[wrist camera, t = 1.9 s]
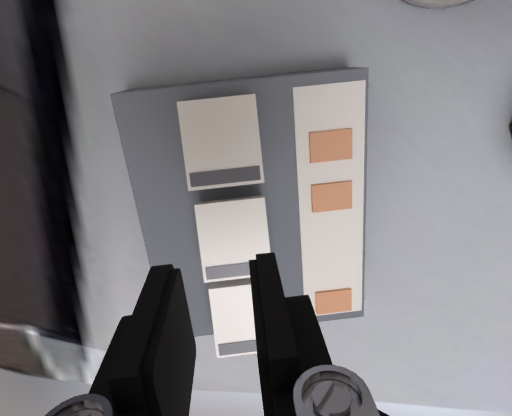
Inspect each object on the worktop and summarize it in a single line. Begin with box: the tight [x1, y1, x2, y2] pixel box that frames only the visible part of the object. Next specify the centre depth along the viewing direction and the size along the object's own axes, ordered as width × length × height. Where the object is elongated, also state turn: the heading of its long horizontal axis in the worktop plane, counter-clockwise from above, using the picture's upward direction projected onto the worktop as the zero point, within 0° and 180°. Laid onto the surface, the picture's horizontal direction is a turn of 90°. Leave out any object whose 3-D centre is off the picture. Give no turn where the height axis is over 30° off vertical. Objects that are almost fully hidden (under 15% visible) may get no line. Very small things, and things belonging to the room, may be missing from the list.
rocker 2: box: [208, 278, 257, 358], centre depth 26 cm, size 4×5×2 cm
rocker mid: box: [194, 195, 270, 283], centre depth 24 cm, size 4×5×2 cm
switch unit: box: [110, 67, 368, 337], centre depth 27 cm, size 16×19×5 cm
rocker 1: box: [177, 94, 265, 191], centre depth 21 cm, size 4×5×2 cm
